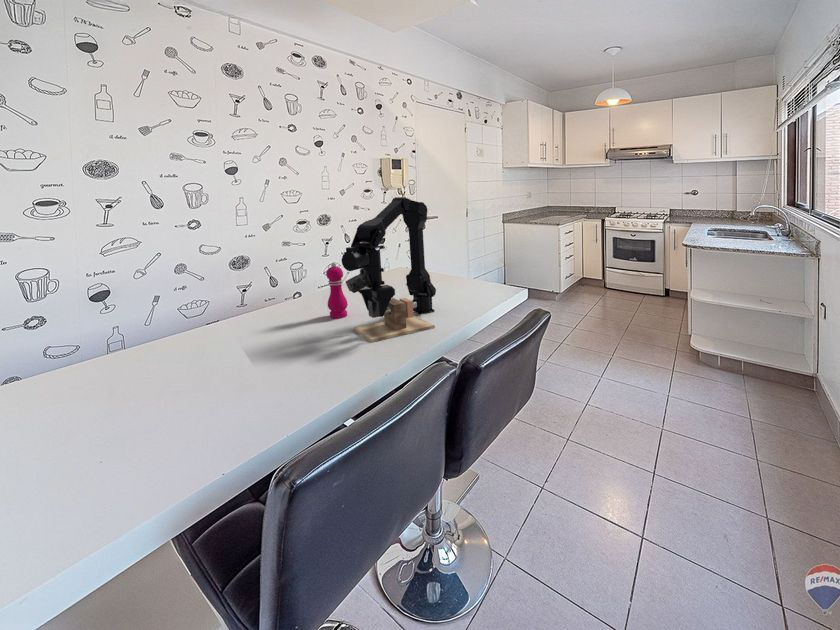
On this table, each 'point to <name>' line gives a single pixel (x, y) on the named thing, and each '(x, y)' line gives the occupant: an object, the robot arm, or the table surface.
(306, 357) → the table surface
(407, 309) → the spacer
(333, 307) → the pepper mill
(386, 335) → the base plate
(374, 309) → the shaft
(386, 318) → the bearing block
